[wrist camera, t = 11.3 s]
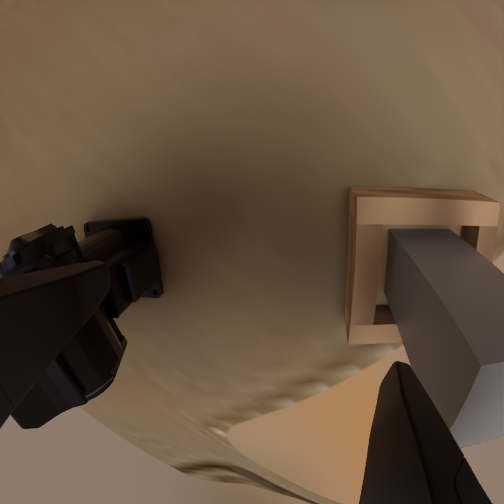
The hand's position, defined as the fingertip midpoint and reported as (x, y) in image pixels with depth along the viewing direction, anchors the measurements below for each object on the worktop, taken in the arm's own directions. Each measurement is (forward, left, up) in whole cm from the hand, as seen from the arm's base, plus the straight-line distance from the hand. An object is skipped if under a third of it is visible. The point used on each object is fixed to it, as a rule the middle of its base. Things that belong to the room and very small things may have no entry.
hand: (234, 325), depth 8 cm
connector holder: (+9, -3, -13) cm, 16 cm away
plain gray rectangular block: (+9, -3, -12) cm, 15 cm away
